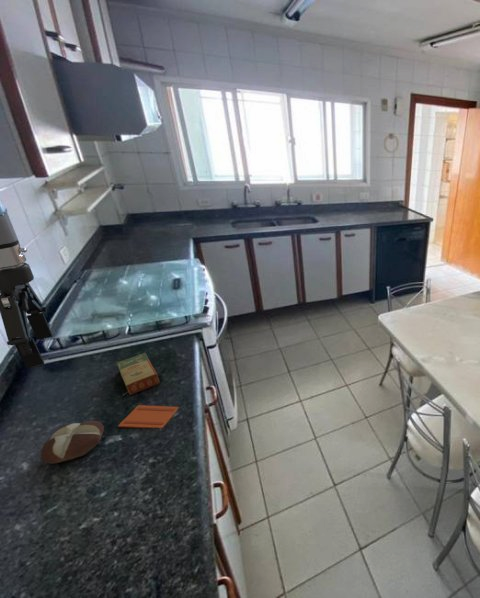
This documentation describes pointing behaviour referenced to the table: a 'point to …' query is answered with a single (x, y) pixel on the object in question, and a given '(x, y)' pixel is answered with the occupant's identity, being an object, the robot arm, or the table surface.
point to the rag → (149, 417)
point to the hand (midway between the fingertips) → (40, 350)
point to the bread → (72, 441)
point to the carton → (138, 373)
